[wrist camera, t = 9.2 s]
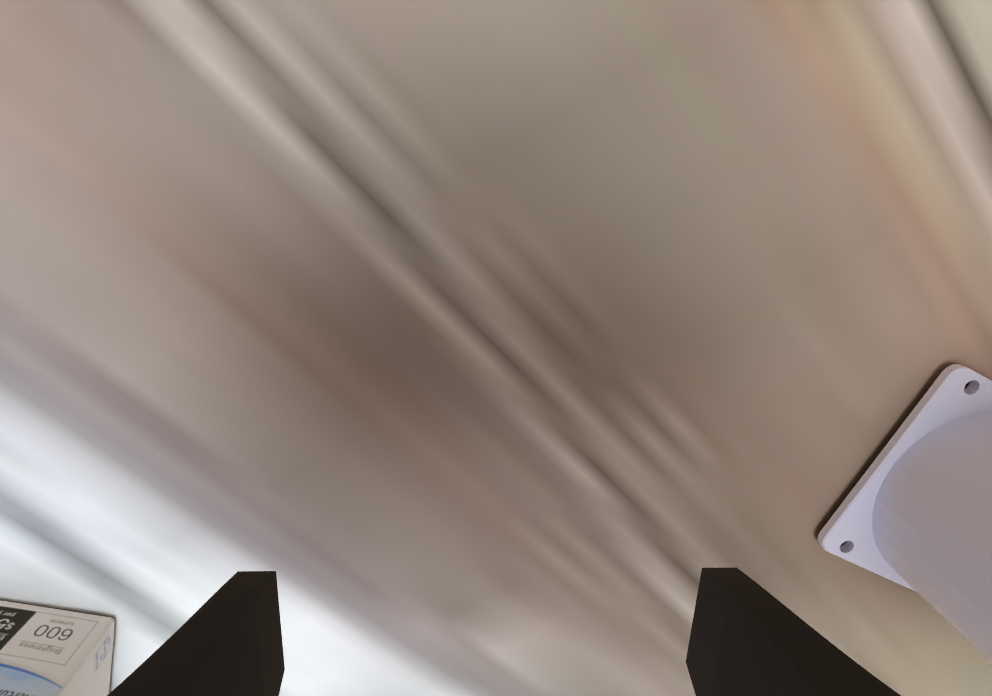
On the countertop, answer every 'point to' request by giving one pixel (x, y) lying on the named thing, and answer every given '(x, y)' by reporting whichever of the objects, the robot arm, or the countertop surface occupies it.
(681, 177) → the countertop surface
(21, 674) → the light bulb box
